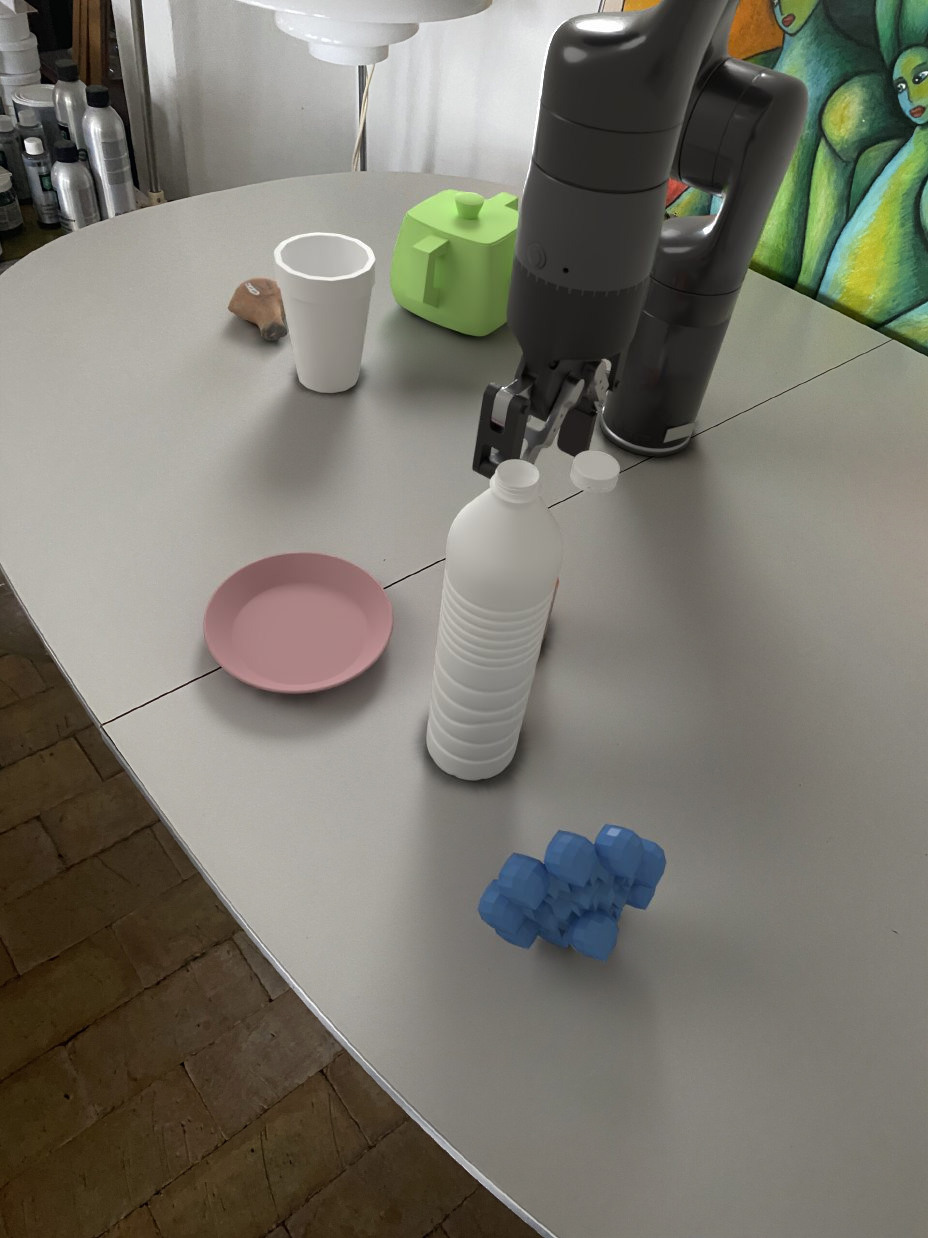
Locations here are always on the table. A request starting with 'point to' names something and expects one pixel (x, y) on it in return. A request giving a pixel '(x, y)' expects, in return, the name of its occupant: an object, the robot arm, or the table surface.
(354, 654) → the plate
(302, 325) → the foam cup
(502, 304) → the teapot
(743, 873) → the table surface
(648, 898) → the grapes
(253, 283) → the oil lamp
